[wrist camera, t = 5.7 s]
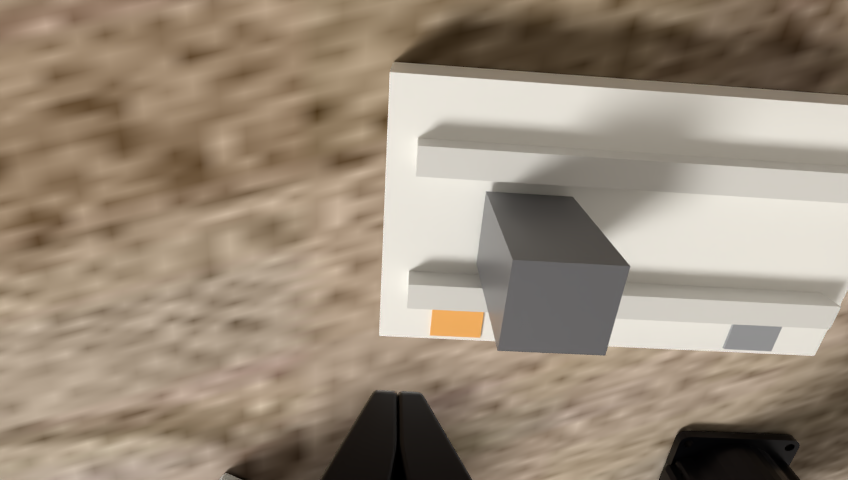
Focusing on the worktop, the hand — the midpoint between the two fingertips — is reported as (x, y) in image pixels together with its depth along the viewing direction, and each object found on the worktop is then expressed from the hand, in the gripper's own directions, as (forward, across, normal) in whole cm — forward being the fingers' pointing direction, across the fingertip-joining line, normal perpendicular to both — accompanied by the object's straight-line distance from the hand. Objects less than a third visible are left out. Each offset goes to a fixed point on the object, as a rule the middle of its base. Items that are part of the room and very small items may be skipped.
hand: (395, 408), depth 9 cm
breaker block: (+12, -8, 0) cm, 15 cm away
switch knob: (+9, -4, 0) cm, 10 cm away
